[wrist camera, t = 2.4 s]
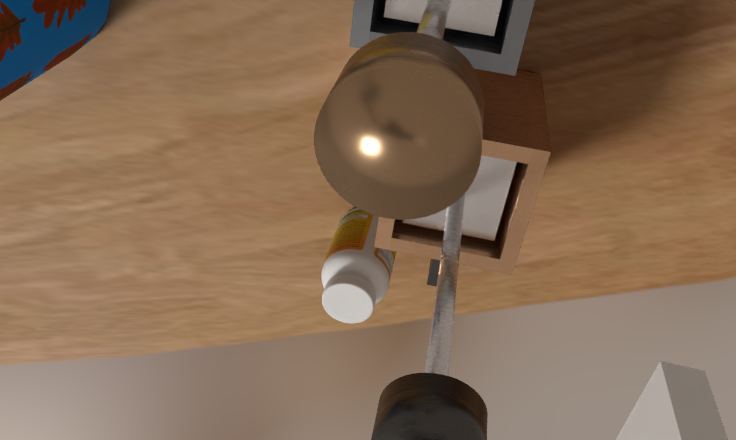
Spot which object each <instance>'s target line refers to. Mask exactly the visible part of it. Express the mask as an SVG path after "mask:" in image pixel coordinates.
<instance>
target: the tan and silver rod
mask: <svg viewBox="0 0 736 440" xmlns="http://www.w3.org/2000/svg"><path fill="white" fill-rule="evenodd" d="M501 4H502V0H386V4H385V12H384V17H387V18H392V19H398V20H404V21H410V22H415V23H420V24H419V27H418V30H417V33H416V32H398V33H392V34H388V35H384V36H381V37H379V38H376V39H374V40H372V41H370V42H369V43H367V44H366V45H364V46H363V47H361V48H360V49H359V50H358V51H357V52H356V53H355V54H354V55H353V56H352V57H351V58H350V59H349V61H348V62H347V64H346V65H345V67H344V69H343V71H342V72H341V74H340V76H339V78H338V79H337V81H336V83H335V85H334V87H333V88H332V90H331V92H330V94H329V96H328V97H327V99H326V101H325V103H324V105H323V106H322V109H321V111H320V113H319V115H318V118H317V121H316V125H315V132H314V146H315V153H316V157H317V161H318V164H319V166H320V168H321V171H322V173H323V174H324V176H325V178H326V180H327V181H328V182H329V184H330V185H331V186H332V188H333V189H334V190H335V191H336V192H337V193H338V194H339V195H340V196H341V197H343V198H344V199H345V200H346V201H347V202H349V203H350V204H352V205H354V206H355V207H357V208H359V209H361V210H363V211H365V212H367V213H370V214H373V215H375V216H379V217H383V218H389V219H399V220H408V219H418V218H423V217H427V216H430V215H433V214H436V213H438V212H440V211H442V210H444V209H446V208H448V207H449V206H451V205H452V204H454V203H455V202H456V201H457V200H459V199H460V198H461V197H462V196H463V195H464V193H465V192H466V191H467V190H468V189H469V187H470V186H471V184H472V183H473V181H474V179H475V177H476V175H477V172H478V169H479V166H480V161H481V154H482V138H483V121H484V93H483V89H482V85H481V82H480V79H479V77H478V75H477V73H476V71H475V69H474V68H473V66H472V64H471V63H470V62H469V61H468V59H467V58H466V57H465V56H464V55H463V54H462V53H461V52H460V51H459V50H457V49H456V48H455V47H453V46H452V45H450V44H449V43H447V42H445V41H443V40H442V38H443V34H444V30H445V28H450V29H456V30H461V31H467V32H473V33H479V34H484V35H490V36H494V34H495V30H496V25H497V21H498V17H499V12H500V8H501Z"/></svg>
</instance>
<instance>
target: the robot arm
mask: <svg viewBox="0 0 736 440" xmlns="http://www.w3.org/2000/svg"><path fill="white" fill-rule="evenodd" d="M616 440H728V438H727V435H726V432H725V429H724V426H723V423H722V421H721V417H720V415H719V412H718V409H717V406H716V403H715V400H714V397H713V394H712V391H711V388H710V385H709V382H708V379H707V376H706V373H705V371H702V370H698V369H694V368H689V367H685V366H680V365H676V364H672V363H667V362H663V361H660V363H659V364H658V366H657V368H656V370H655V372H654V373H653V375H652V377H651V379H650V380H649V382H648V384H647V386H646V388H645V389H644V391H643V393H642V394H641V396H640V398H639V400H638V401H637V403H636V405H635V407H634V409H633V410H632V412H631V414H630V416H629V417H628V419H627V421H626V423H625V424H624V426H623V428H622V430H621V431H620V433H619V435H618V436H617V438H616Z"/></svg>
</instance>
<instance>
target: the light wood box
mask: <svg viewBox="0 0 736 440" xmlns="http://www.w3.org/2000/svg"><path fill="white" fill-rule="evenodd" d="M475 71H476V73H477V75H478V77H479V79H480V82H481V85H482V89H483V93H484V121H483V138H482V154H481V155H482V156H488V157H493V158H498V159H504V160H509V161H514V162H517V163H516V167H515V170H514V174H513V177H512V181H511V184H510V188H509V191H508V195H507V198H506V201H505V205H504V208H503V212H502V215H501V219H500V222H499V226H498V229H497V233H496V236H495V240H494V241H493V240H488V239H483V238H478V237H473V236H467V235H461V246H460V256H459V264H461V265H466V266H471V267H476V268H481V269H486V270H491V271H496V272H501V273H506V274H511V275H512V273H513V270H514V267H515V264H516V260H517V257H518V254H519V251H520V248H521V245H522V241H523V238H524V235H525V232H526V229H527V226H528V223H529V219H530V216H531V213H532V210H533V207H534V204H535V201H536V197H537V194H538V191H539V188H540V185H541V182H542V179H543V175H544V172H545V169H546V166H547V163H548V160H549V157H550V153H551V149H550V141H549V133H548V125H547V117H546V109H545V101H544V93H543V85H542V77H541V74H539V73H533V72H528V71H522V70H517V71H516V75H515V76H513V75H508V74H502V73H497V72H491V71H485V70H480V69H475ZM443 235H444V231H442V230H437V229H432V228H427V227H422V226H417V225H412V224H407V223H403V220H399V219H389V218H383V217H379V220H378V226H377V233H376V239H375V246H374V247H376V248H381V249H386V250H391V251H396V252H401V253H406V254H411V255H416V256H421V257H426V258H431V262H430V268H429V275H428V281H427V285H432V286H437V280H438V272H439V265H440V257H441V250H442V242H443Z"/></svg>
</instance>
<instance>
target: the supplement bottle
mask: <svg viewBox="0 0 736 440" xmlns="http://www.w3.org/2000/svg"><path fill="white" fill-rule="evenodd" d="M378 220H379V216H375V215H373V214H370V213H367V212H365V211H363V210H361V209H359V208H355V209H352V210H350V211H349V212H347V213H346V214H345V215H344V216H343V217H342V219H341V220H340V222H339V225H338V227H337V230H336V233H335V236H334V238H333V241H332V244H331V246H330V249H329V252H328V254H327V257H326V260H325V263H324V265H323V269H322V275H321V277H322V284H323V286H324V292H323V295H322V304H323V307H324V309H325V310H326V312H327V313H328V314H329V315H330V316H331V317H333V318H334V319H336V320H338V321H341V322H345V323H359V322H362V321H364V320H366V319H367V318H368V317H369V316H370V315H371V314H372V312H373V309H374V306H375V304H376V303H378V302H379V301H380V300H381V299H382V298H383V297H384V295H385V294H386V292H387V289H388V286H389V281H390V277H391V272H392V268H393V264H394V259H395V255H396V251H391V250H386V249H381V248H376V247H374V246H375V239H376V233H377V226H378Z"/></svg>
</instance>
